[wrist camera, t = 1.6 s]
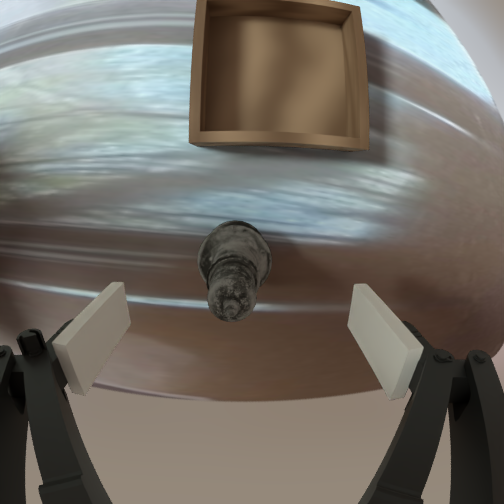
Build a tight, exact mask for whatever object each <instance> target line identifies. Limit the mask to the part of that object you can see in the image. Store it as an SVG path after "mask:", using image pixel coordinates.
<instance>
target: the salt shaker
mask: <svg viewBox="0 0 504 504" xmlns="http://www.w3.org/2000/svg"><path fill="white" fill-rule="evenodd" d="M197 264H198V268H199V272H200V274H201V276H202V278H203V280H204V281H205V282H206V284H207V288H208V290H209V291H208V296H207V301H208V306H209V309H210V310H211V312H212V313H213V314H214V315H215V316H216V317H217V318H219V319H220V320H223V321H226V322H236V321H240V320H243V319H245V318H246V317H247V316H249V315H250V314H251V312H252V311H253V309H254V307H255V304H256V299H257V297H256V293H257V291H258V289H259V287H260V286H261V285H262V284H263V283H264V282H265V280H266V279H267V278H268V275H269V273H270V271H271V265H272V257H271V251H270V249H269V247H268V244H267V242H266V241H265V240H264V239H263V237H262V236H261V234H260V233H259V232H258V231H257V229H256V228H254V227H253V226H252V225H250V224H248V223H245V222H243V221H228V222H225V223H223V224H221V225H219V226H218V227H216V228H215V229H214V230H213V231H212V233H211V234H209V235H208V236H207V237H206V238H205V240H204V241H203V243H202V244H201V246H200V249H199V252H198V261H197Z"/></svg>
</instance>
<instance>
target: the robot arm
mask: <svg viewBox="0 0 504 504" xmlns="http://www.w3.org/2000/svg"><path fill="white" fill-rule="evenodd" d="M130 325H131V321H130V316H129V311H128V305H127V300H126V294H125V287H124V282H112V283H111V284H110V285H109V286H107V287H106V288H105V289H104V290H103V291H102V292H101V293H100V294H99V295H98V296H97V297H96V298H95V299H94V300H93V301H92V302H91V303H90V304H89V305H88V306H87V307H86V308H85V309H84V310H83V311H82V312H81V313H80V314H79V315H78V316H77V317H76V318H75V319H72V320H70V321H68V322H66V323H65V324H64V325H63V326H62V327H61V328H60V329H59V330H58V331H57V332H56V334H54V335H53V336H52V337H51V338H50V339H49V340H48V341H47V342H46V343H45V341H44V338H43V335H42V332H41V331H40V330H38V329H28V330H25V331H23V332H22V333H20V334H19V335H18V336H17V339H16V340H17V342H18V345H19V347H20V350H21V352H22V355H14V354H13V352H12V349H11V347H9V346H6V345H3V346H0V504H26V496H25V456H26V441H27V430H28V421H29V424H30V430H31V435H32V440H33V445H34V450H35V454H36V458H37V462H38V466H39V470H40V473H41V477H42V480H43V485H39V488H38V489H39V494H40V497H41V500H42V503H43V504H112V502H111V500H110V498H109V497H108V495H107V493H106V491H105V489H104V488H103V485H102V483H101V481H100V479H99V477H98V475H97V473H96V471H95V469H94V466H93V464H92V462H91V460H90V458H89V455H88V453H87V451H86V448H85V446H84V443H83V441H82V438H81V436H80V433H79V430H78V427H77V425H76V422H75V419H74V416H73V413H72V410H71V407H70V404H69V400H68V397H67V394H66V392H65V389H64V387H65V386H66V384H67V383H68V385H69V387H70V389H71V391H72V393H75V394H79V395H83V396H86V394H87V392H88V391H89V389H90V387H91V386H92V384H93V382H94V381H95V379H96V378H97V376H98V374H99V373H100V371H101V369H102V368H103V366H104V365H105V363H106V362H107V360H108V358H109V357H110V355H111V354H112V352H113V351H114V349H115V347H116V346H117V344H118V343H119V341H120V340H121V338H122V337H123V335H124V334H125V332H126V331H127V329H128V328H129V326H130ZM347 326H348V328H349V329H350V331H351V333H352V335H353V336H354V338H355V340H356V341H357V343H358V345H359V347H360V348H361V350H362V352H363V354H364V355H365V357H366V359H367V361H368V362H369V364H370V366H371V368H372V369H373V371H374V373H375V375H376V377H377V378H378V380H379V382H380V384H381V386H382V388H383V389H384V391H385V393H386V395H387V397H388V399H389V400H395V399H399V398H404V397H405V394H406V392H407V390H408V388H409V389H410V390H411V392H412V395H411V397H410V399H409V402H408V404H407V406H406V408H405V412H404V415H403V417H402V420H401V422H400V424H399V427H398V429H397V431H396V434H395V436H394V438H393V440H392V442H391V445H390V447H389V449H388V451H387V453H386V455H385V457H384V459H383V461H382V463H381V465H380V467H379V468H378V471H377V472H376V474H375V476H374V478H373V479H372V481H371V483H370V485H369V486H368V488H367V490H366V492H365V493H364V495H363V496H362V498H361V500H360V501H359V503H358V504H423V500H422V499H421V495H422V492H423V489H424V487H425V484H426V482H427V479H428V476H429V473H430V470H431V467H432V464H433V461H434V458H435V455H436V451H437V448H438V445H439V441H440V437H441V433H442V430H443V425H444V421H445V416H446V412H447V407H448V412H449V423H450V424H449V425H450V440H451V490H450V504H504V393H503V389H502V386H501V383H500V381H499V378H498V375H497V372H496V370H495V367H494V364H493V362H492V359H491V358H490V356H489V355H488V354H487V353H486V352H483V351H481V350H472V351H470V352H469V353H468V356H467V358H466V360H455V359H454V357H453V355H452V354H450V353H449V352H447V351H445V350H441V349H434V348H433V347H432V346H431V345H430V344H429V342H428V341H427V340H426V339H425V338H424V337H422V335H421V334H420V333H419V332H418V330H417V329H416V328H415V327H414V326H413V325H411V324H410V323H408V322H406V321H400V320H399V318H398V317H397V316H396V315H395V314H394V313H393V312H392V311H391V310H390V309H389V307H388V306H387V305H386V304H385V303H384V302H383V301H382V300H381V299H380V298H379V297H378V296H377V295H376V293H375V292H374V291H373V290H372V289H371V288H370V287H369V286H368V285H367V284H354V288H353V295H352V301H351V307H350V313H349V319H348V325H347Z"/></svg>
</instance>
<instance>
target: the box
mask: <svg viewBox="0 0 504 504" xmlns="http://www.w3.org/2000/svg"><path fill="white" fill-rule="evenodd" d="M189 143H190V144H193V145H195V146H197V147H198V146H279V147H300V148H316V149H328V150H339V151H349V152H353V151H363V150H369V96H368V77H367V63H366V52H365V42H364V34H363V26H362V18H361V12H360V7H359V6H355V5H350V4H346V3H341V2H336V1H331V0H197V4H196V13H195V24H194V36H193V49H192V64H191V83H190V109H189Z"/></svg>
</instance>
